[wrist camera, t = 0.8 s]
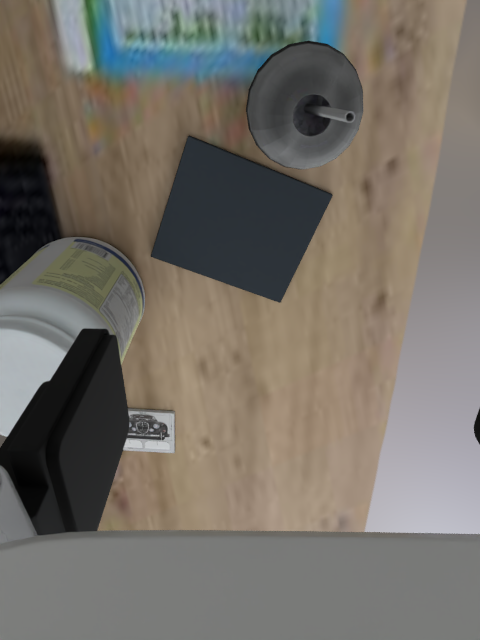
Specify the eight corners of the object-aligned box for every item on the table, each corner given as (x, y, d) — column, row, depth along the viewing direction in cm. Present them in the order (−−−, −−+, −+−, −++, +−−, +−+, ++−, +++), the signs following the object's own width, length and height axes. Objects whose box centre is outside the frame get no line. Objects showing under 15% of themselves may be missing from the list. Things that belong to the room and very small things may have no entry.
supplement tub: (61, 347, 51) (-14, 463, 37) (8, 248, 45) (-107, 337, 31) (164, 325, 50) (129, 436, 35) (122, 219, 44) (59, 298, 29)
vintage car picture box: (58, 443, 59) (44, 471, 55) (51, 403, 55) (35, 429, 51) (174, 450, 59) (169, 478, 55) (174, 411, 56) (169, 437, 52)
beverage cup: (234, 65, 37) (223, 69, 20) (322, 32, 36) (391, 4, 19) (261, 154, 41) (271, 223, 23) (341, 126, 39) (415, 177, 22)
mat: (151, 254, 46) (150, 256, 45) (188, 135, 40) (188, 136, 40) (279, 300, 48) (280, 302, 47) (331, 193, 42) (332, 195, 42)
